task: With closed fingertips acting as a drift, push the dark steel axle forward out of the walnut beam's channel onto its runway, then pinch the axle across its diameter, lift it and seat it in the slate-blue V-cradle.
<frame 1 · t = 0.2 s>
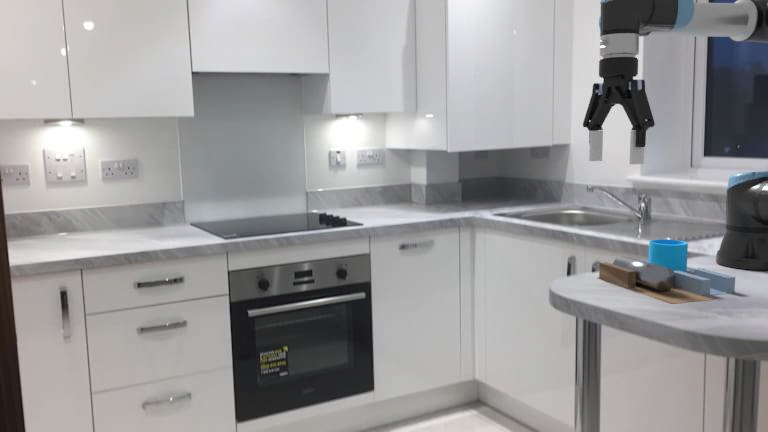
hand: (615, 162, 144), 27 cm above the countertop, fingers open, 13 cm apart
axle: (642, 284, 147), point 1 cm above the countertop, touching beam
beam: (648, 293, 145), on the countertop
mug: (669, 276, 162), on the countertop
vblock: (701, 295, 143), on the countertop
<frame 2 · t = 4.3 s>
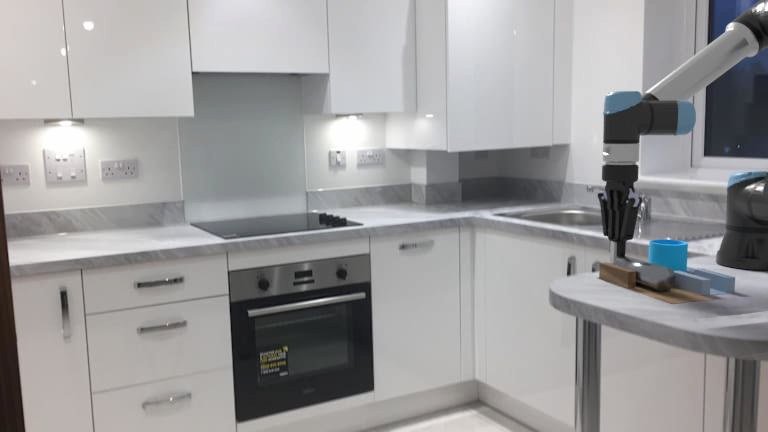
hand: (616, 269, 155), 3 cm above the countertop, fingers closed
axle: (642, 284, 147), point 1 cm above the countertop, touching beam, gripper
everything else where it was.
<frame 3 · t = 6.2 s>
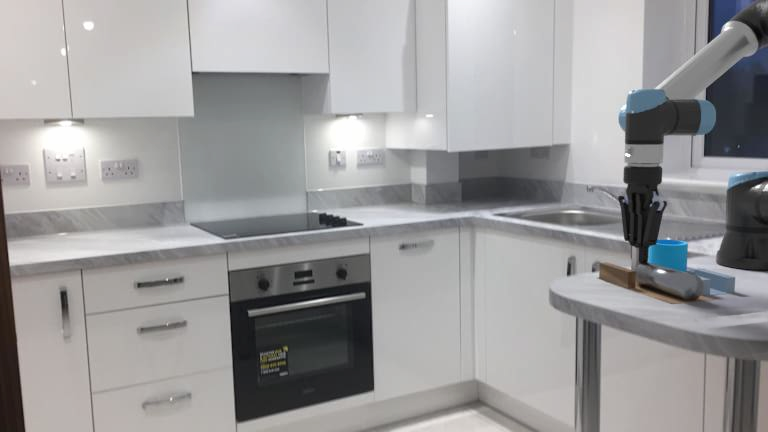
hand: (638, 276, 148), 3 cm above the countertop, fingers closed
axle: (666, 292, 140), point 1 cm above the countertop, touching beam, gripper
everything else where it was.
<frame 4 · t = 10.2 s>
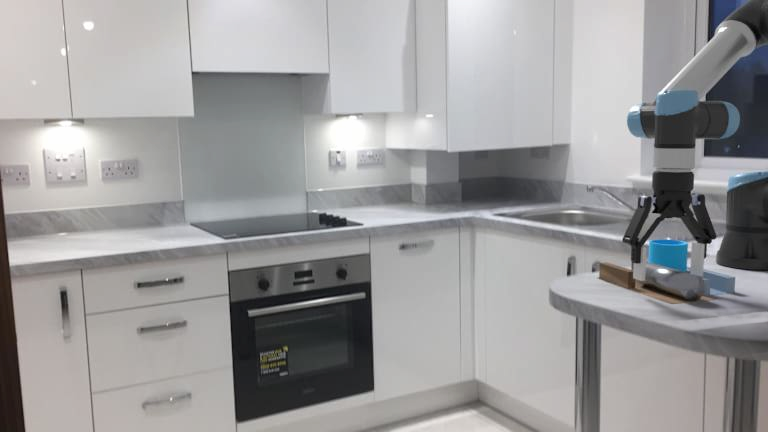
hand: (668, 277, 139), 5 cm above the countertop, fingers open, 13 cm apart
axle: (667, 292, 140), point 2 cm above the countertop, tilted 7°, touching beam
everything else where it was.
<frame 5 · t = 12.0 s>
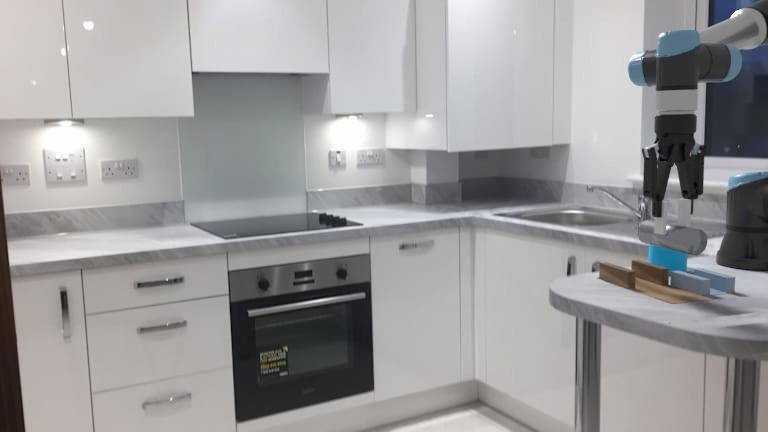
hand: (672, 232, 138), 14 cm above the countertop, fingers closed on axle, 5 cm apart
axle: (667, 249, 138), point 10 cm above the countertop, tilted 14°, touching gripper
everything else where it was.
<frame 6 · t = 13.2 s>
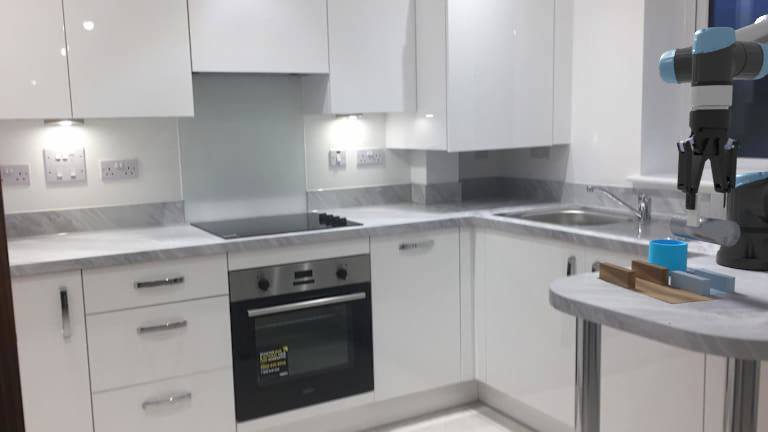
hand: (704, 225, 141), 15 cm above the countertop, fingers closed on axle, 5 cm apart
axle: (700, 241, 142), point 11 cm above the countertop, tilted 15°, touching gripper
everything else where it was.
when the fingers open (6 cm above the countertop, at t = 14.9 s): axle stays where it is, resting on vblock.
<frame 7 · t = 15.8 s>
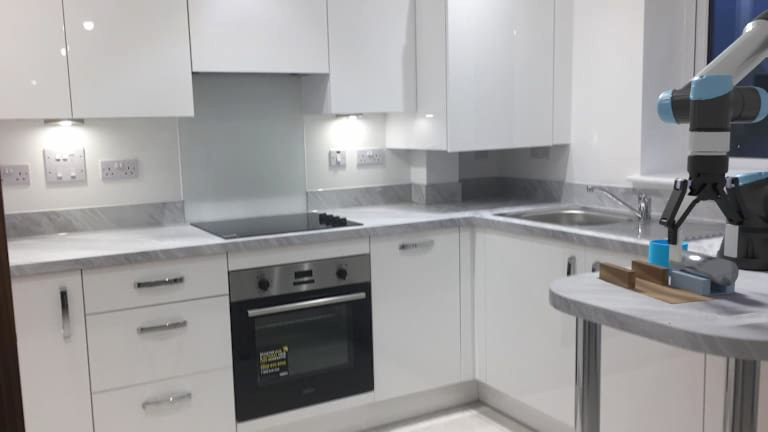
hand: (703, 258, 142), 8 cm above the countertop, fingers open, 13 cm apart
axle: (697, 278, 143), point 4 cm above the countertop, tilted 21°, touching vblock
everything else where it was.
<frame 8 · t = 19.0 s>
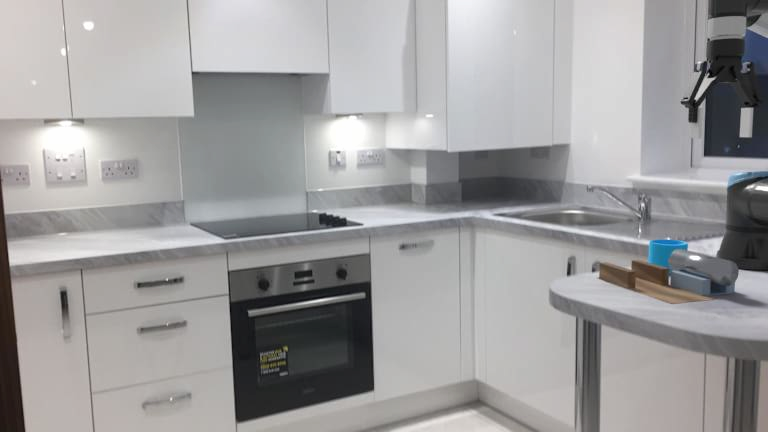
hand: (720, 137, 154), 32 cm above the countertop, fingers open, 13 cm apart
nothing on the countertop moved.
at the end: axle inside the target area on the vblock (0.9 cm from its centre), point 3.7 cm above the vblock's base; axle touching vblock; the gripper is holding nothing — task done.
